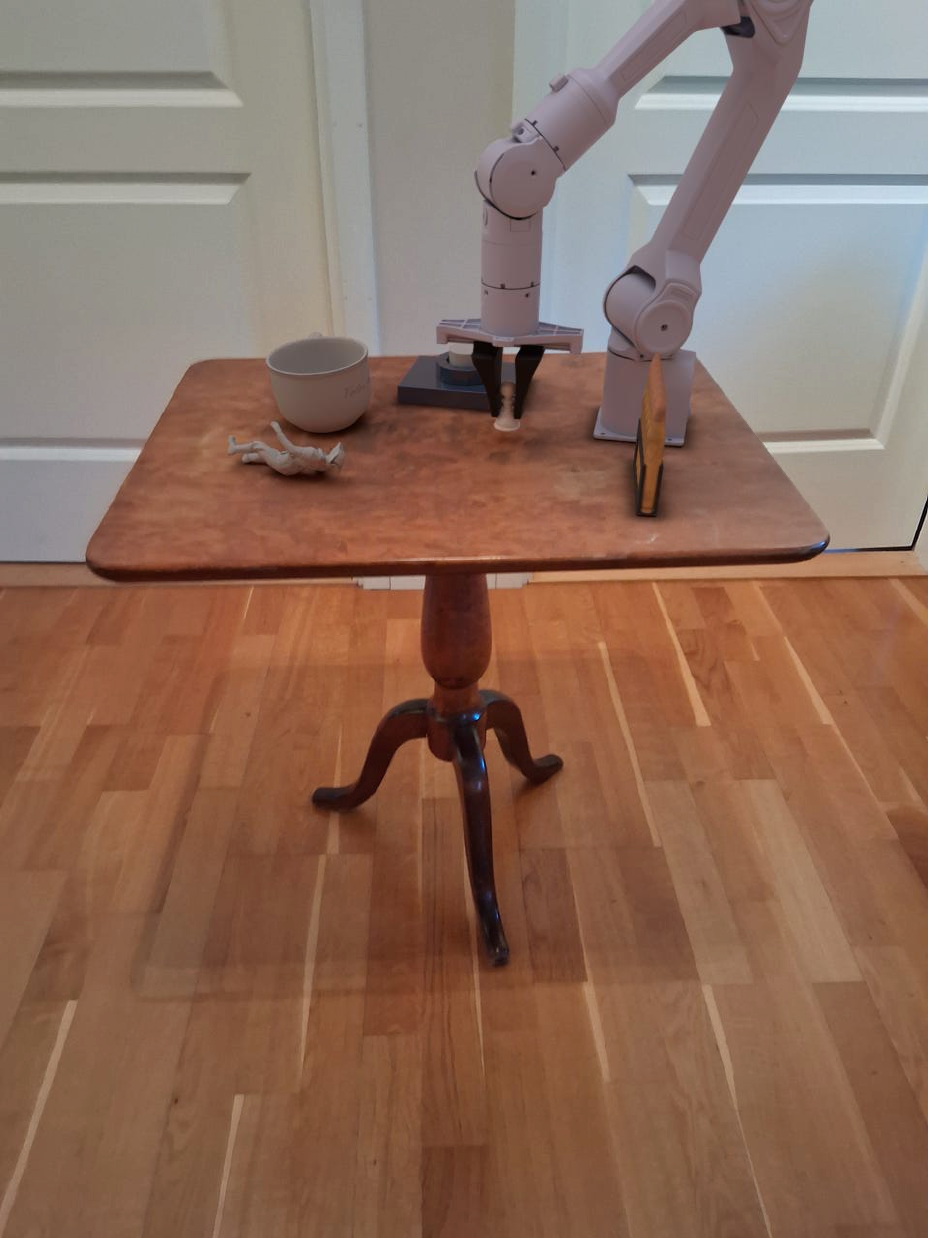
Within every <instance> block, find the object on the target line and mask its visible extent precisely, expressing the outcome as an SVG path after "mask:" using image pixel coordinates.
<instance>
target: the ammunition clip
mask: <svg viewBox="0 0 928 1238" xmlns="http://www.w3.org/2000/svg"><path fill="white" fill-rule="evenodd" d="M666 410H667V402H666V393H665V386H664V379H663V372H662V365H661V358H660V354H659V352H656V354H655V355H654V357H653V360H652V362H651V365H650V369H649V374H648V381H647V385H646V390H645V393H644V396H643V403H642V411H641V418H639V421H638V429H637V437H636V442H635V447H634V454H633V462H632V470H633V483H634V484H633V486H634V487H633V489H634V502H635V503H634V504H635V515H636V516H647V517H657V514H658V508H659V500H660V494H661V487H662V480H663V473H664V472H663V471H664V460H663V459H664V453H665V452H664V451H665V446H666V445H665V423H666V420H665V419H666Z"/></svg>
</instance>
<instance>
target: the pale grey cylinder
mask: <svg viewBox="0 0 928 1238" xmlns="http://www.w3.org/2000/svg"><path fill="white" fill-rule="evenodd" d="M448 351H449V364H451V365H454V366H462V367H472V366H474V364H473V362H472V359H471V354H472V352H473V344H464V343H452V344H450V345H449V347H448Z"/></svg>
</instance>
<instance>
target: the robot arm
mask: <svg viewBox="0 0 928 1238" xmlns="http://www.w3.org/2000/svg"><path fill="white" fill-rule="evenodd" d="M814 1H815V0H654V2H653V3H652V4H651V5H650V6H649V7H648V8H647V9H646V10H645V12H644V13H642V15H641V16H640V17H639V18H638V19H637V20H636V21H635V23H633V25H632V26H631V27H630V28H629V29H628V30H627V31H626V33H625V34H624V35H623V36H622V37H621V38H620V39H619V40H618V41H617V42H616V43H615V45H613V47H612V48H611V49H610V50H609V51H608V52H607V53H606V55H605V56H604V57H603V58H602V59H601V60H600V61H599V62H598V64H596V66H595V67H593V68H583V67H575V68H572V69H571V70H570V71H569V73H567V74H563V73H561V72H557V74H556V75H555V76H554V77H553V78H552V79H551V80H550V81H549V82H548V86H549V88H550V92H549V93H548V94H546V95H545V96H544V97H543V99H541V100H540V102H538V103H537V104H536V105H535V107H534V108H533V109H531V111H529V112H528V114H526V116H525V117H524V118H523V119H522V120H521V121H520V120H518V119H514V120H513V121H512V122H511V123H510V124H509V126H508V131H509V132H510V135H511V136H506V137H504V138H498V139H496V140H494V141H493V142H491V143H490V144H489V145H488V146H486V148H485V149H484V151H483V152H482V153H481V156H480V158H479V163H478V164H477V167H476V168H477V170H474V171H473V177H474V183H475V186H476V189H477V190H478V192H479V194H480V195H481V196H482V198H483V200H482V228H481V235H480V237H481V241H480V243H481V244H480V245H481V246H480V247H481V249H480V250H481V251H480V255H481V256H480V258H481V259H480V317H479V318H476V317H475V318H460V319H459V318H457V319H455V318H454V319H452V318H440V319H439V321H438V322H437V323H436V326H435V333H436V335H435V336H436V340H435V341H436V344H437V345H447V344H449V343H452V344H456V343H464V344H473V352H472V354H471V359H472V362H473V364H474V366H475V368H476V370H477V371H478V373H479V375H480V377H481V380H482V382H483V385H484V387H485V390H486V393H487V397H488V400H489V405H490V410H491V411H490V416H491V418H496V417H498V416H499V411H500V409H501V405H502V402H501V400H502V394H501V392H500V386H501V369H502V362H503V355H504V348H519V350H518V351H517V353H516V355H515V357H514V363H515V376H516V393H515V402H514V419H519V420H521V419H522V416H523V414H524V409H525V403H526V399H527V395H528V391H529V388H530V385H531V382H532V380H533V377H534V375H535V373H536V371H537V369H538V367H539V366H540V363H541V361H542V359H543V357H544V354H545V352H546V351H548V350H550V351H559V352H560V351H561V352H569V354H571V355H581V353H582V351H583V346H584V345H583V344H584V333H585V328H580V327H579V328H577V327H572V326H571V327H570V326H565V325H559V324H554V323H549V322H544V321H540V303H541V282H542V259H543V239H544V238H543V236H544V232H543V231H544V230H543V221H544V220H543V219H544V208H545V207H547V206H548V205H549V203H550V202H551V200H552V198H553V196H554V193H555V189H556V185H557V180H558V179H559V178H561V177H562V176H563V175H565V173H566V172H568V170H570V168H571V167H573V165H574V164H576V162H578V161H579V160H580V159H581V158H582V157H583V156H584V155H585V154H586V153H587V152H588V151H589V150H590V149H591V148H592V147H593V146H594V145H595V144H596V143H597V142H598V141H599V140H600V139H601V138H603V136H604V135H606V133H607V132H608V131H609V130H610V129H612V127H613V126H614V125H615V123H616V120H617V112H618V107H619V102H620V100H621V99H622V98H623V97H624V96H625V95H626V94H627V93H629V91H631V90H632V89H633V88H634V87H635V86H637V85H638V83H640V82H641V81H642V80H643V79H644V78H645V77H646V76H647V75H648V74H649V73H651V72H652V71H653V70H654V69H655V68H656V67H657V66H659V65H660V64H661V63H662V62H663V61H664V60H665V59H666V58H668V57H669V55H671V54H672V53H673V52H675V50H676V49H678V47H680V46H681V45H682V44H683V43H684V42H685V41H686V40H688V39H689V38H690V37H691V36H692V35H693V34H694V33H697V32H699V31H705V30H710V29H716V28H718V29H719V30H720V31H721V33H722V34H723V37H724V40H725V43H726V46H727V50H728V53H729V57H730V60H731V63H732V72H731V75H730V76H729V78H728V80H727V82H726V84H725V86H724V88H723V91H722V93H721V95H720V97H719V99H718V101H717V103H716V105H715V107H714V109H713V111H712V113H711V115H710V118H709V119H708V122H707V124H706V126H705V128H704V130H703V132H702V134H701V136H700V138H699V140H698V142H697V144H696V146H695V148H694V151H693V152H692V155H691V157H690V159H689V160H688V162H687V164H686V167H685V169H684V171H683V172H682V175H681V177H680V179H679V181H678V183H677V185H676V187H675V189H674V192H673V194H672V195H671V198H670V200H669V202H668V204H667V206H666V208H665V210H664V212H663V214H662V217H661V218H660V220H659V223H658V224H657V227H656V228H655V231H654V233H653V235H652V237H651V239H650V240H649V241H648V242H647V243H645V244H644V245H642V246H641V247H640V248H638V249H636V251H634V252H633V253H632V254H631V256H630V258H629V260H628V262H627V265H626V266H625V267H624V268H623V270H622V271H621V272H620V273H618V275H616V276H615V277H614V278H613V279H612V280H611V282H610V283H609V284H608V285H607V286H606V289H605V290H604V293H603V297H602V313H603V315H604V316H603V317H604V318H605V319H606V322H607V323H608V324H609V325H610V334H609V336H608V339H607V347H606V354H605V355H606V356H605V367H604V369H605V370H604V376H603V377H604V378H603V379H604V380H603V389H602V399H601V400H602V401H601V406H600V407H599V408H598V412H597V418H596V422H595V426H594V430H593V438H594V439H598V440H607V441H608V440H610V441H619V442H633V443H636V437H637V429H638V421H639V418H641V411H642V403H643V396H644V393H645V390H646V385H647V381H648V374H649V369H650V365H651V362H652V360H653V357H654V355H655V354H656V352H659V354H660V358H661V365H662V372H663V379H664V386H665V393H666V402H667V410H666V419H665V420H666V423H665V445H664V446H677V447H682V446H683V445H684V444H685V436H686V430H687V424H688V422H690V420H691V414H692V407H693V406H692V405H693V404H692V403H691V399H692V398H691V397H692V392H693V384H694V377H695V370H696V361H697V351H695V350H689V349H684V348H682V347H683V346H684V344H686V342H687V341H688V339H689V337H690V335H691V333H692V331H693V325H694V317H695V316H694V314H695V311H696V310H695V309H696V307H697V305H698V303H699V300H700V298H701V297H702V294H703V285H702V274H701V264H702V262H703V260H704V258H705V257H706V254H707V252H708V250H709V249H710V246H711V245H712V242H713V241H714V238H715V237H716V235H717V234H718V232H719V230H720V227H721V225H722V223H723V221H724V220H725V217H726V216H727V214H728V212H729V210H730V208H731V206H732V204H733V202H734V200H735V198H736V197H737V195H738V193H739V191H740V188H741V187H742V184H743V183H744V181H745V179H746V177H747V175H748V173H749V171H750V169H751V167H752V166H753V163H754V162H755V160H756V158H757V156H758V154H759V152H760V150H761V148H762V146H763V144H764V142H765V141H766V138H767V137H768V135H769V132H770V131H771V130H772V127H773V125H774V123H775V121H776V119H777V117H778V116H779V113H780V112H781V109H782V107H783V106H784V104H785V102H786V100H787V98H788V97H789V94H790V92H791V91H792V88H793V86H794V84H795V82H796V81H797V78H798V77H799V74H800V72H801V69H802V66H803V61H804V56H805V55H804V54H805V47H806V40H807V33H808V27H809V20H810V13H811V7H812V6H813V3H814Z"/></svg>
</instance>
